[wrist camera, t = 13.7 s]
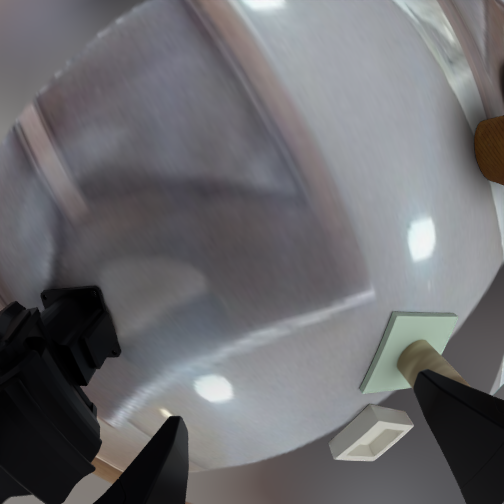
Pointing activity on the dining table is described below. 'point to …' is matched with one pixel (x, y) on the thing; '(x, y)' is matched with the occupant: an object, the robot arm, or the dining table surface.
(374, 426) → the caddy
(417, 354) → the pepper mill
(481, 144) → the disposable coffee cup
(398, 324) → the plate
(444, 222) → the dining table surface
